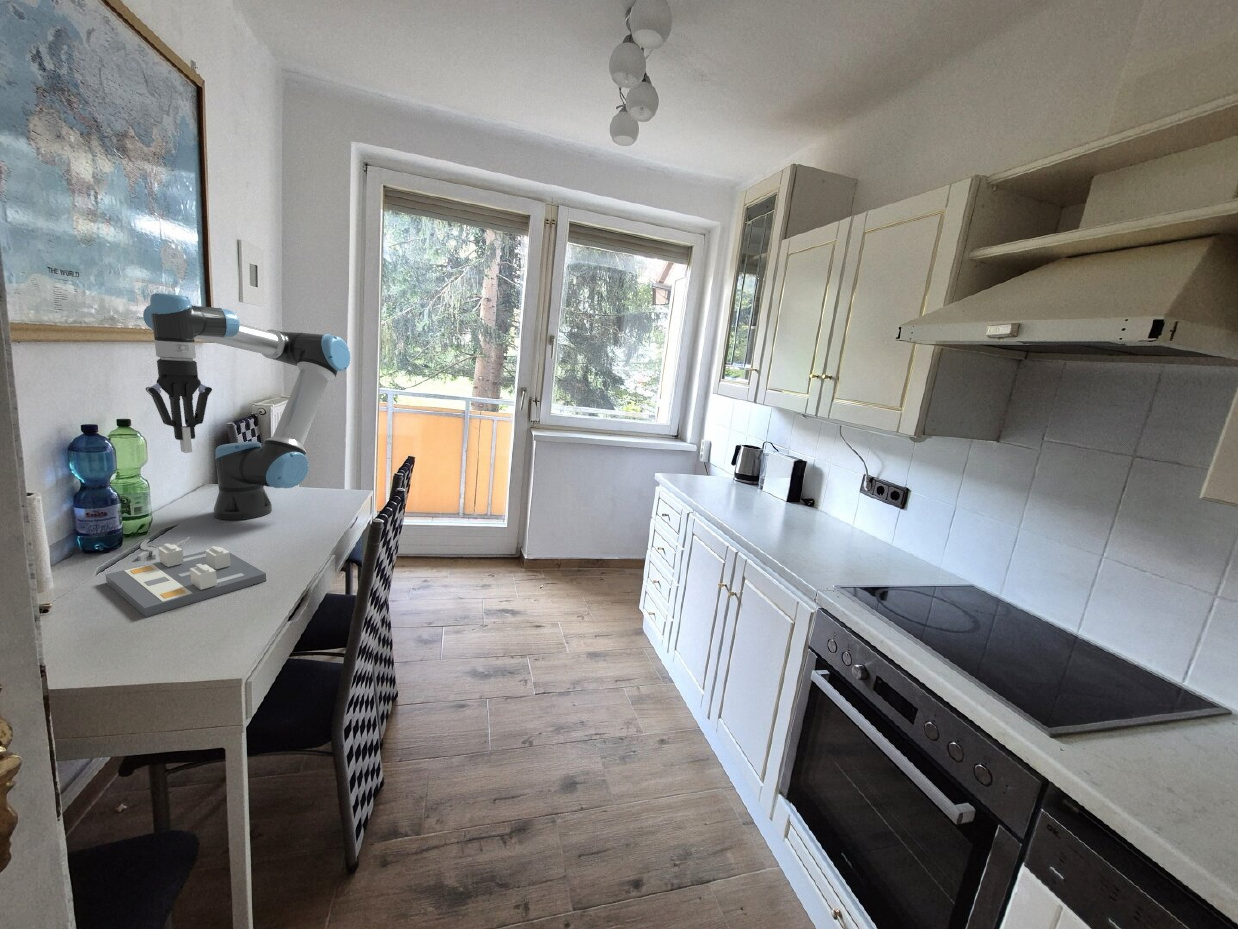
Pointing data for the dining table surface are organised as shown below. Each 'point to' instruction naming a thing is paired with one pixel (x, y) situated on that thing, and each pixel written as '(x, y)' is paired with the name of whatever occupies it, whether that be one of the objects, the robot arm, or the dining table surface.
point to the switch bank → (179, 583)
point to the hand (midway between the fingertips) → (186, 451)
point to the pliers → (155, 549)
